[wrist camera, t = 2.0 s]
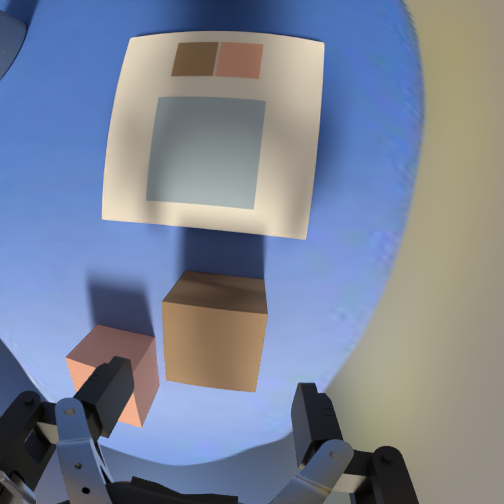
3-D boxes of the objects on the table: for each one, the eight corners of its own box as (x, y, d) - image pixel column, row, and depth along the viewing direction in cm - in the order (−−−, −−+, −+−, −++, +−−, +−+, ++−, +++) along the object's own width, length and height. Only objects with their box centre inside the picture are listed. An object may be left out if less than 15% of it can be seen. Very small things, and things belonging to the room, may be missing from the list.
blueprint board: (108, 217, 18) (101, 219, 17) (135, 43, 15) (130, 37, 13) (303, 236, 18) (306, 239, 17) (321, 48, 15) (324, 42, 14)
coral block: (107, 372, 21) (82, 408, 16) (98, 323, 20) (65, 357, 15) (159, 385, 21) (141, 427, 16) (155, 336, 20) (130, 377, 15)
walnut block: (184, 336, 20) (166, 380, 15) (186, 270, 19) (162, 301, 13) (255, 344, 20) (255, 392, 15) (264, 278, 19) (267, 314, 14)
